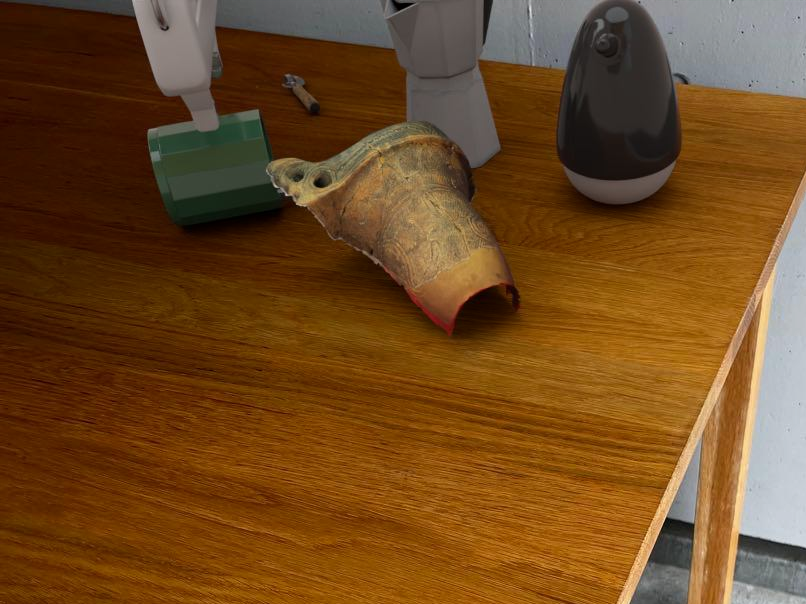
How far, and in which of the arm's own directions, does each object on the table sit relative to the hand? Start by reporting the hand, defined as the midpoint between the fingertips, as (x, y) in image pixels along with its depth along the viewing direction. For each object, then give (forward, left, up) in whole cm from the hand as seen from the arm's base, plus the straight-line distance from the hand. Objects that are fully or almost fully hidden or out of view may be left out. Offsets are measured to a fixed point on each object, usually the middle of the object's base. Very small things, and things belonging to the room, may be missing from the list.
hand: (211, 100), depth 86 cm
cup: (-5, -2, -5) cm, 8 cm away
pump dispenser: (+32, -8, -9) cm, 34 cm away
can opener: (+6, +18, -9) cm, 20 cm away
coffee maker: (+20, +4, -9) cm, 22 cm away
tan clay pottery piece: (+14, -15, -9) cm, 23 cm away
